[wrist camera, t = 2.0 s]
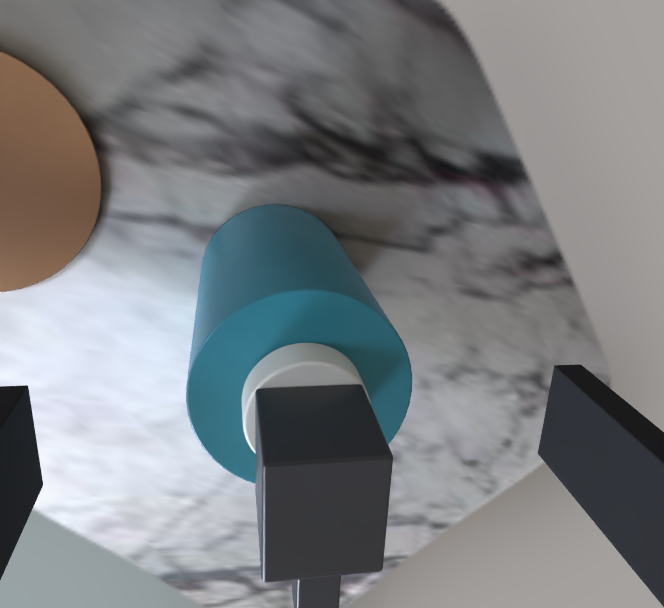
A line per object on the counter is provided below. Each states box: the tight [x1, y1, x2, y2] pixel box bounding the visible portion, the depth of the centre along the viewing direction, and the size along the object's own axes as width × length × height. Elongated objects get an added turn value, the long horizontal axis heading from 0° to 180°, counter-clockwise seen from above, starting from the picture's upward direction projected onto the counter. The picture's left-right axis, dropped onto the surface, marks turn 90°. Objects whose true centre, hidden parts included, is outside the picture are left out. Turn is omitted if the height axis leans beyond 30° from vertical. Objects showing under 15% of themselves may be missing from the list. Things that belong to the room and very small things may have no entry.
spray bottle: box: [186, 205, 412, 608], centre depth 19 cm, size 7×6×14 cm
